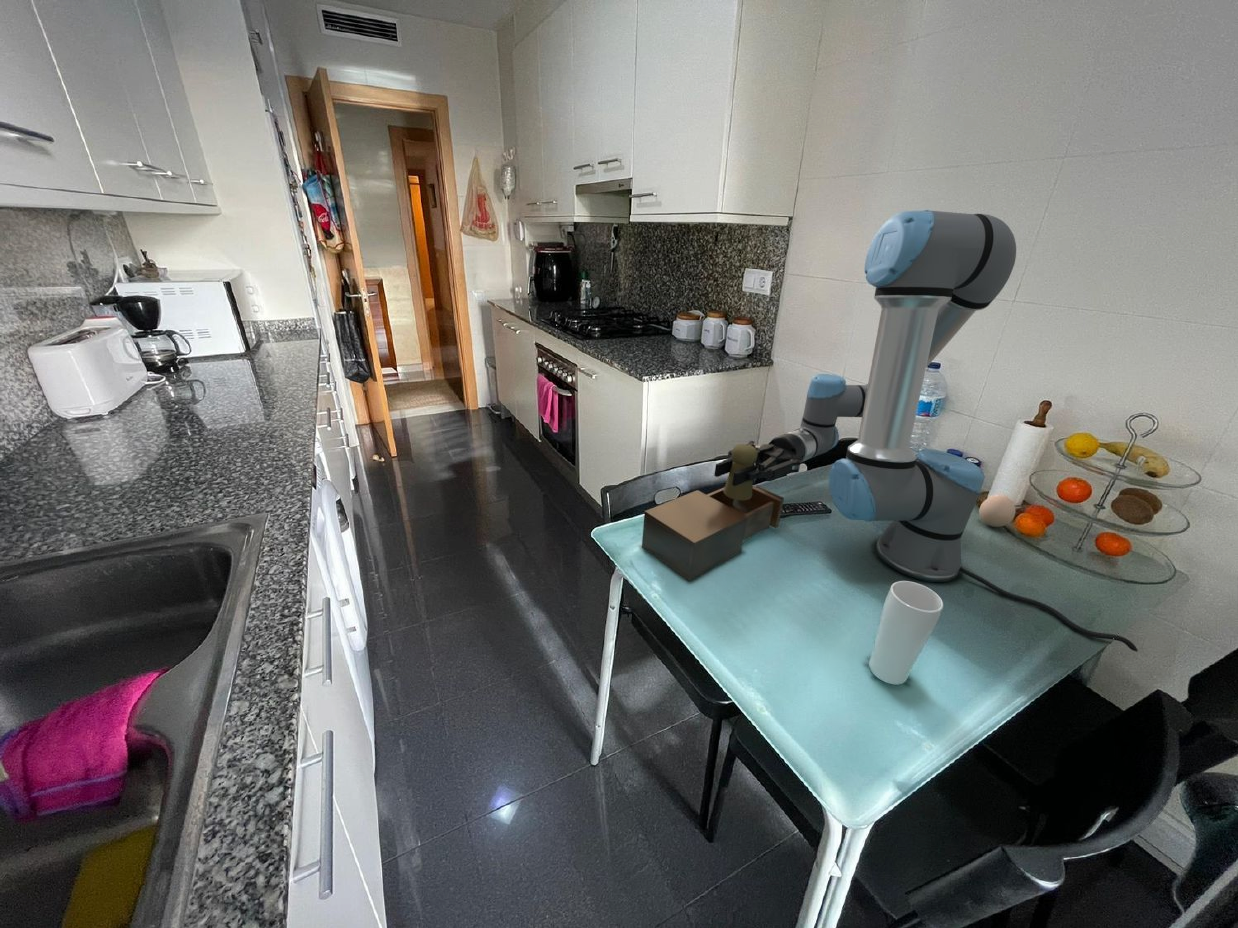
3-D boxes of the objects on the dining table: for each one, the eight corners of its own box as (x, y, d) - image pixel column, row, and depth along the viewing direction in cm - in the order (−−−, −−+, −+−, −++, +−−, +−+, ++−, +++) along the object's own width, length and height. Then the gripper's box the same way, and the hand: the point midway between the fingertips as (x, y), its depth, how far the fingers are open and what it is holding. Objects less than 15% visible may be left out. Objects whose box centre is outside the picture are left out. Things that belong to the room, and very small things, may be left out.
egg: (977, 514, 122) (989, 486, 119) (1010, 525, 118) (1023, 496, 115) (971, 524, 118) (983, 495, 115) (1005, 536, 114) (1018, 506, 110)
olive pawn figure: (752, 502, 104) (761, 454, 99) (723, 498, 105) (730, 450, 100) (751, 488, 109) (760, 442, 104) (723, 484, 110) (730, 439, 105)
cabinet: (693, 523, 113) (697, 489, 109) (741, 552, 103) (748, 516, 100) (641, 546, 103) (644, 511, 100) (689, 580, 94) (694, 543, 90)
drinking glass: (856, 671, 76) (883, 594, 70) (871, 648, 81) (898, 573, 74) (904, 698, 72) (937, 619, 66) (917, 672, 77) (949, 595, 70)
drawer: (746, 498, 123) (750, 473, 120) (790, 520, 114) (796, 494, 111) (692, 522, 111) (696, 495, 108) (736, 548, 103) (742, 520, 100)
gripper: (763, 422, 119) (696, 443, 106) (829, 446, 108) (763, 474, 94) (757, 450, 122) (692, 475, 109) (821, 477, 111) (756, 508, 97)
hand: (725, 474), depth 101 cm, fingers closed on olive pawn figure, 4 cm apart
